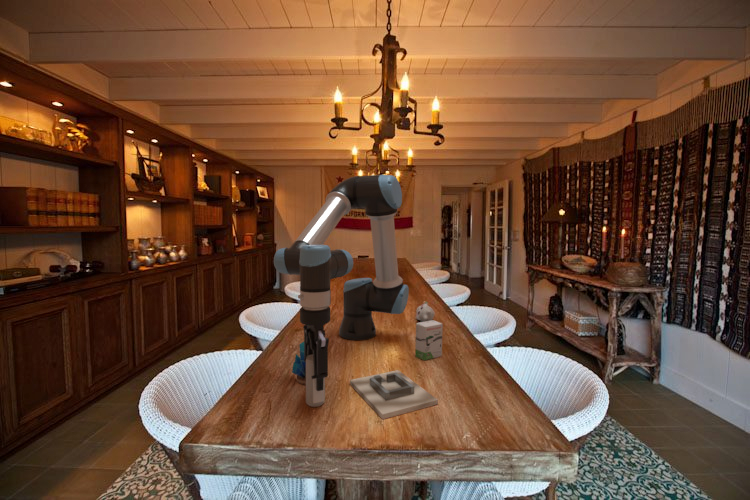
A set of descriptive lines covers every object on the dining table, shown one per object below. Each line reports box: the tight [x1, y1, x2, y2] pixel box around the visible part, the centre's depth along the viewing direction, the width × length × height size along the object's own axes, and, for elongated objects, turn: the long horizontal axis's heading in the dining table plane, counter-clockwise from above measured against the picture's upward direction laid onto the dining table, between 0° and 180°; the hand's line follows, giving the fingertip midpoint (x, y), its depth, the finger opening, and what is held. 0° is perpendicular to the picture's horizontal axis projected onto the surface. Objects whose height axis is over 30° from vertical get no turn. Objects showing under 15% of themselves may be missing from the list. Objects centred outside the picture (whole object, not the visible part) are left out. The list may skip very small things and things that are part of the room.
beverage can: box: [305, 354, 326, 408], centre depth 89 cm, size 5×5×12 cm
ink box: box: [414, 319, 444, 361], centre depth 121 cm, size 9×5×12 cm, turn 124°
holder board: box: [349, 369, 439, 420], centre depth 94 cm, size 20×16×3 cm
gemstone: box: [291, 341, 306, 386], centre depth 102 cm, size 7×9×12 cm
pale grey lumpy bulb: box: [415, 300, 436, 322], centre depth 165 cm, size 10×8×15 cm
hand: (315, 396), depth 89 cm, fingers closed on beverage can, 5 cm apart
